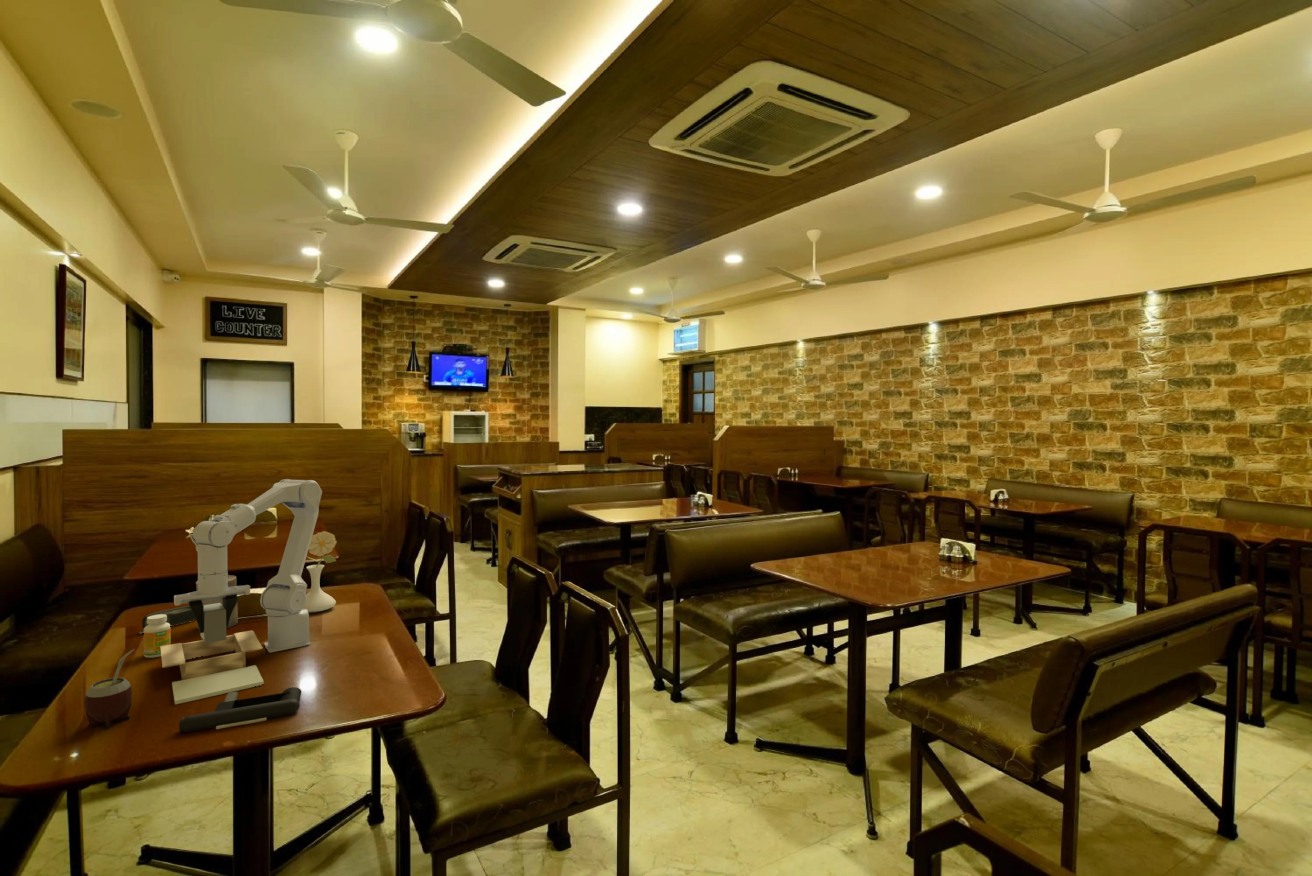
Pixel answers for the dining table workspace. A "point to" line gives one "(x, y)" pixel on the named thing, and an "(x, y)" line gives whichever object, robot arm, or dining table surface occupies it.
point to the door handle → (244, 711)
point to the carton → (182, 652)
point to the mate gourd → (109, 700)
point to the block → (214, 623)
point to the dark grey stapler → (173, 616)
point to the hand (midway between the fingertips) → (213, 629)
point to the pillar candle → (234, 616)
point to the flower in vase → (316, 596)
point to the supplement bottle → (156, 635)
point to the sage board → (216, 684)
